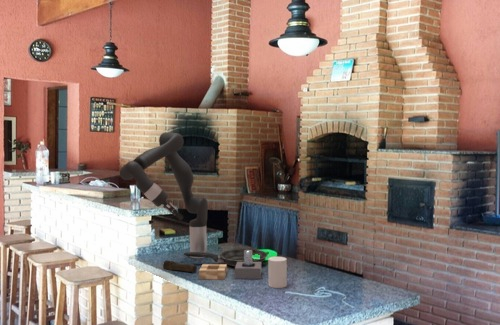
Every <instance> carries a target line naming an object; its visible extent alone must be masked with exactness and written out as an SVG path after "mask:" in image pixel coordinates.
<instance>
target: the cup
mask: <svg viewBox="0 0 500 325" xmlns="http://www.w3.org/2000/svg"><path fill="white" fill-rule="evenodd" d="M287 259H288V258H286V257H284V256H271V257H268V259H267V264H268V266H267V267H268V269H267V270H268V275H267V276H268V287H270V288H274V289H283V288H286V287H287V278H288V276H287V274H288V273H287V272H288V271H287V264H288V263H287Z"/></svg>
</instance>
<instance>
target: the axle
mask: <svg viewBox="0 0 500 325" xmlns="http://www.w3.org/2000/svg"><path fill="white" fill-rule="evenodd" d="M244 267H252V250H244Z"/></svg>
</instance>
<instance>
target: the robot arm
mask: <svg viewBox="0 0 500 325" xmlns="http://www.w3.org/2000/svg"><path fill="white" fill-rule="evenodd" d="M158 142H159V146H156V147H153V148H150V149H148V150H145V151H144V152H141V153H140V154H139V155H138V156H137V157H135V158H134V159H133V160H129V161H128V162H127V163H125V164H124V165H123V166H121V167H120V170H119V176H120V178H121V179H122V180H124V181H131V180H132V179H133V178H134V179H135V181H136V182H135V187H136V188H137V189H138V190H139V191H140V192H141V193H142V194H143V195H144V196H145V197H146V198H147V199H148V200H149V201H150V202H151V203H152V204H154V206H156V207H158V208H159V207H161V206H162V205H163V206H162V208H164V210H166V211H167V212H168V213H170V214H172V215H173V216H175V217H176V218H177V219H178V220H179V221H182V220H183V219H184V216H183V215H182V214H181V213H180V212H179V210H177V209H176V206H174V205H173V203H172V202H171V201H169V200H167V199H168V198H169V194H168V193H167V192H166V191H164V189H162V188H161V187H160V186H159V185H158V184H157V183H155V182H154V181H153V180H152V179H151V178H150V177H148V175H147V173H146V171H145V170H146V169H148V168H149V167H151V166H152V165H153V164H155V163H156V162H158V161H160V160H161V159H163V158H166V160H167V162H168V164H169V166H170V168H171V171H172V173H173V176H174V178H175V181H176V182H177V185H178V188H179V191H180V192H181V194H182V199H183V202H184V206H185V209H186V210H187V212H188V213H190V214H196V218H194V219H191V220H190V221H189V252H204V253H208V250H207V248H208V246H207V238H208V237H207V235H208V234H207V223H208V222H207V221H208V209H209V206H208V205H209V204H208V200H207V198H206V197H203V196H195V195H194V194H193V191H192V186H193V184H194V180H195V178H194V174H193V172H192V171H193V170H192V169H191V167H190V165H189V163H188V162H186V161H185V160H184V159H183V158H182V157H181V156H180V155H179V153H178V152H179V151H180V150H181V149H182V148H183V146H184V138H183V136H182V134H180V133H177V132H163V133H161V134H160V135H159V138H158ZM189 257H190V258H191V259H204V258H206V257H191V256H189Z"/></svg>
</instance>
